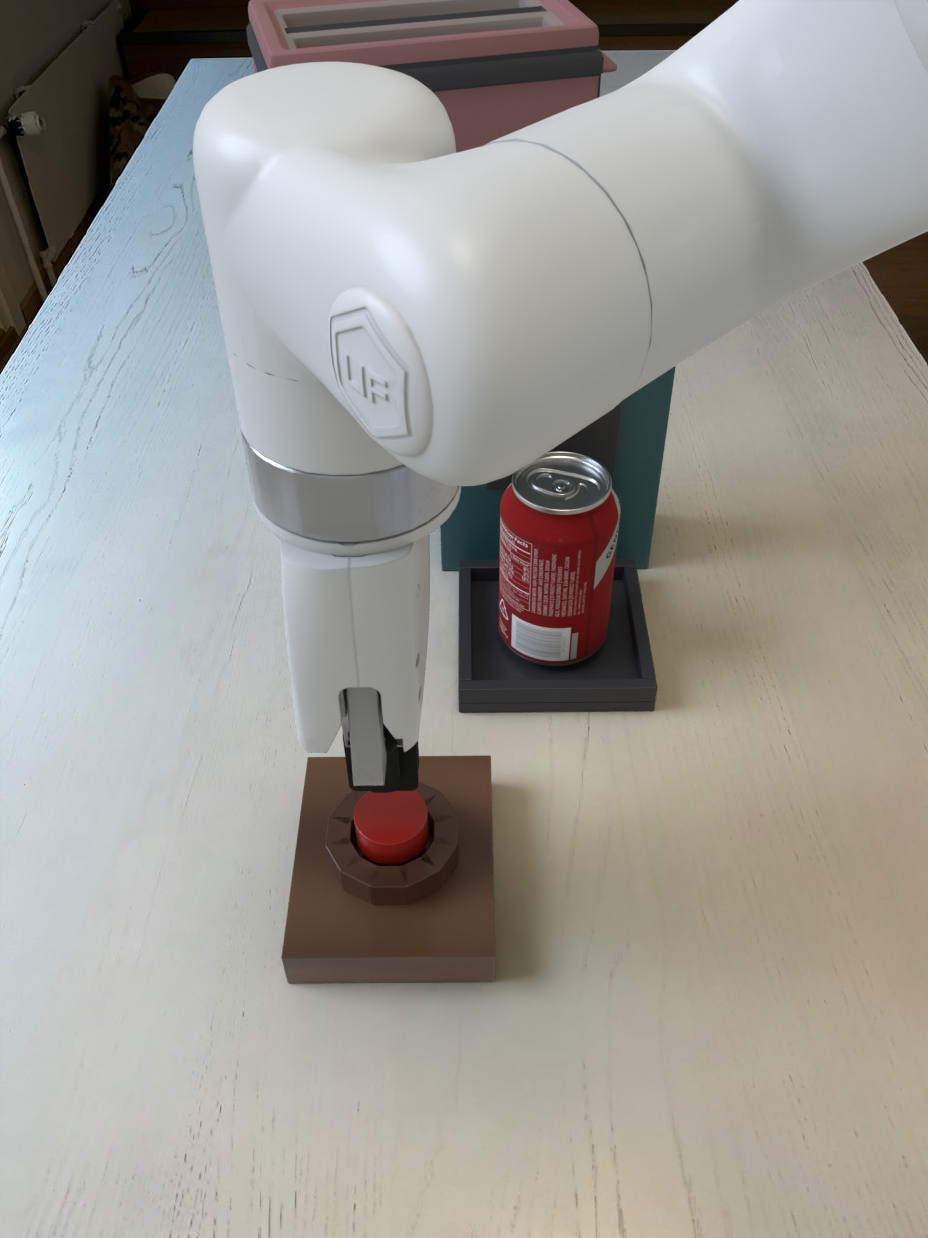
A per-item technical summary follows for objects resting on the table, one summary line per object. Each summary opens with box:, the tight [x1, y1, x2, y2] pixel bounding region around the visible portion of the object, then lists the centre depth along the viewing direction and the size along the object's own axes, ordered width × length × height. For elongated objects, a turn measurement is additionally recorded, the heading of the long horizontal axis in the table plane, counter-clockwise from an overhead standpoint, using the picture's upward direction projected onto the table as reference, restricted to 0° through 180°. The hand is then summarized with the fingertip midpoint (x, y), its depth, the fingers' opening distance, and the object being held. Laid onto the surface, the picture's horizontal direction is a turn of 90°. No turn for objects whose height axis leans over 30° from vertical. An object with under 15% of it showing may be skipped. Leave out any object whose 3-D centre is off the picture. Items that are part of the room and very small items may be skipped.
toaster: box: [245, 0, 618, 153], centre depth 105 cm, size 19×34×21 cm, turn 104°
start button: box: [354, 790, 429, 865], centre depth 54 cm, size 4×4×2 cm
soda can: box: [499, 451, 620, 666], centre depth 64 cm, size 7×7×12 cm
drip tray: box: [457, 559, 658, 713], centre depth 68 cm, size 12×12×2 cm
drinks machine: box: [439, 365, 677, 571], centre depth 68 cm, size 7×14×23 cm, turn 90°
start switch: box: [280, 755, 496, 984], centre depth 55 cm, size 12×10×4 cm
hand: (385, 777), depth 51 cm, fingers closed
